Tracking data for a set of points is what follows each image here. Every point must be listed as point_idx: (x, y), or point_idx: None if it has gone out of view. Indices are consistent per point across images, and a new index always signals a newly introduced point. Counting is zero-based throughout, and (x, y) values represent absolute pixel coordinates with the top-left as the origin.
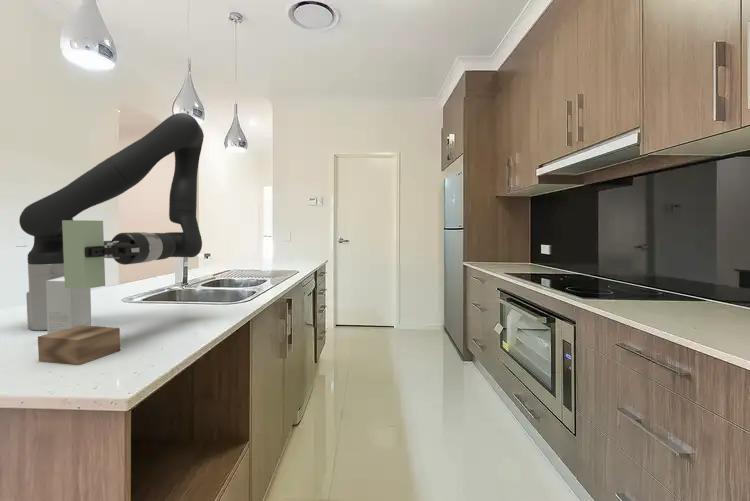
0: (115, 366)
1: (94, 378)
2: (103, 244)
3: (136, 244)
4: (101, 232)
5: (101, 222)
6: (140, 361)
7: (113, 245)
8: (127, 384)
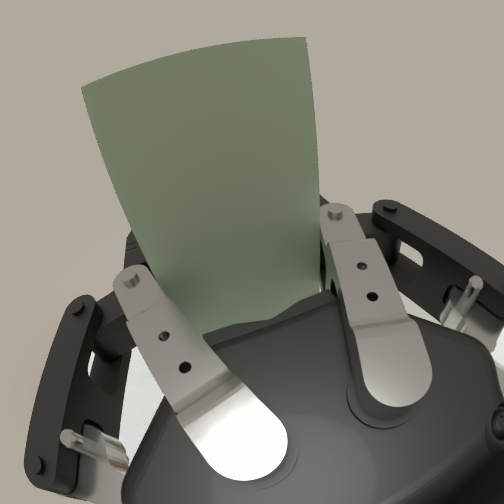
0: (158, 402)
1: (141, 360)
2: (151, 269)
3: (32, 460)
4: (118, 181)
5: (89, 102)
6: (144, 434)
7: (87, 303)
8: (91, 365)
